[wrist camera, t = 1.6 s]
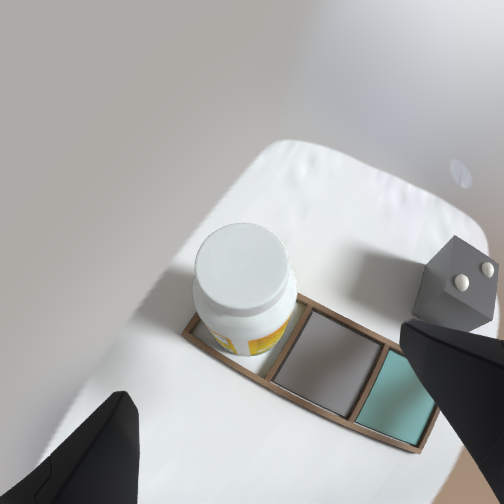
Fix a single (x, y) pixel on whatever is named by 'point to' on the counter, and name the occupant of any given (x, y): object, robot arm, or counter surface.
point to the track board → (347, 377)
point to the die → (458, 288)
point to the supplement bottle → (244, 288)
